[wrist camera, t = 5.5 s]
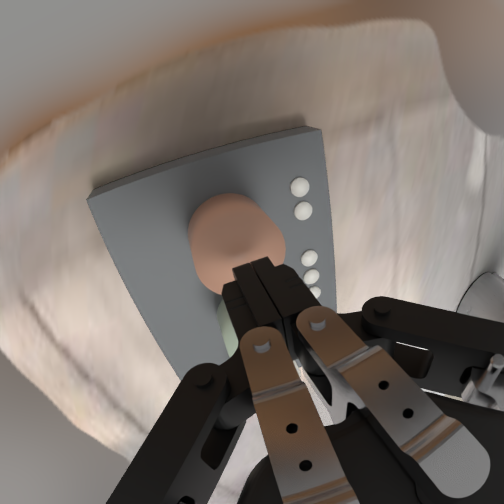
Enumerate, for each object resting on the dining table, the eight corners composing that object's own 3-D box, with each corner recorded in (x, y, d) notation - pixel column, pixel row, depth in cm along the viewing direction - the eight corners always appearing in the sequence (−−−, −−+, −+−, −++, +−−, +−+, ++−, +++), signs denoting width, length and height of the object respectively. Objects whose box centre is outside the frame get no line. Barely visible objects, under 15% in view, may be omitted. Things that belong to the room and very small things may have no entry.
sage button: (276, 273, 19) (294, 302, 17) (285, 322, 22) (301, 351, 19) (208, 296, 19) (218, 329, 16) (226, 343, 21) (237, 375, 18)
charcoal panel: (306, 125, 19) (322, 130, 17) (328, 337, 29) (338, 352, 27) (93, 189, 17) (85, 201, 15) (192, 386, 27) (196, 404, 25)
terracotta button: (257, 183, 16) (278, 201, 14) (271, 252, 18) (291, 279, 16) (177, 208, 15) (181, 231, 13) (201, 276, 18) (209, 307, 15)
